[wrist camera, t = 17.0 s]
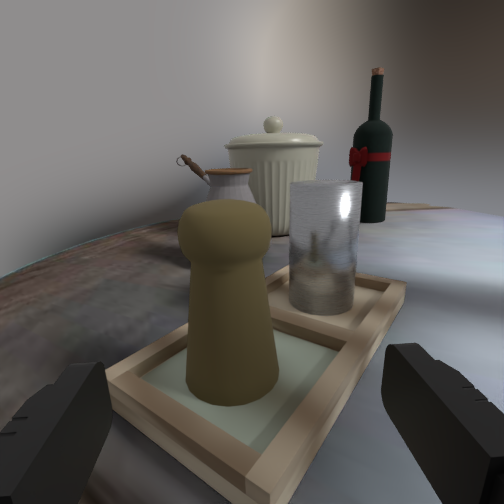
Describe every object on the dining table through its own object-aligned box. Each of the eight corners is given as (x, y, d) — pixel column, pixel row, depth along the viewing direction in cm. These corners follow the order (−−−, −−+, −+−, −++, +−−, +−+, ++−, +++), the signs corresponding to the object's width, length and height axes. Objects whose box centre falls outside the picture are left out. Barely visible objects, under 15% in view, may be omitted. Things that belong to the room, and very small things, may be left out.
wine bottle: (333, 220, 70) (341, 69, 62) (361, 214, 76) (372, 75, 67) (364, 226, 64) (377, 59, 55) (392, 219, 70) (408, 66, 61)
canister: (339, 232, 60) (346, 112, 54) (259, 248, 51) (256, 107, 45) (283, 217, 75) (283, 122, 69) (213, 228, 66) (206, 120, 60)
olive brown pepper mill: (174, 406, 18) (150, 212, 14) (195, 344, 23) (181, 195, 20) (282, 406, 17) (282, 209, 14) (277, 343, 23) (276, 193, 20)
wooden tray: (295, 277, 39) (295, 260, 38) (404, 302, 32) (406, 282, 31) (104, 403, 20) (98, 373, 19) (270, 533, 13) (269, 494, 12)
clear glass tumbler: (306, 283, 34) (309, 179, 31) (362, 296, 31) (372, 180, 27) (277, 304, 29) (276, 184, 26) (339, 322, 26) (347, 187, 23)
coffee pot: (288, 261, 45) (289, 150, 41) (218, 280, 39) (209, 152, 34) (215, 233, 62) (210, 153, 57) (158, 244, 55) (147, 155, 51)
